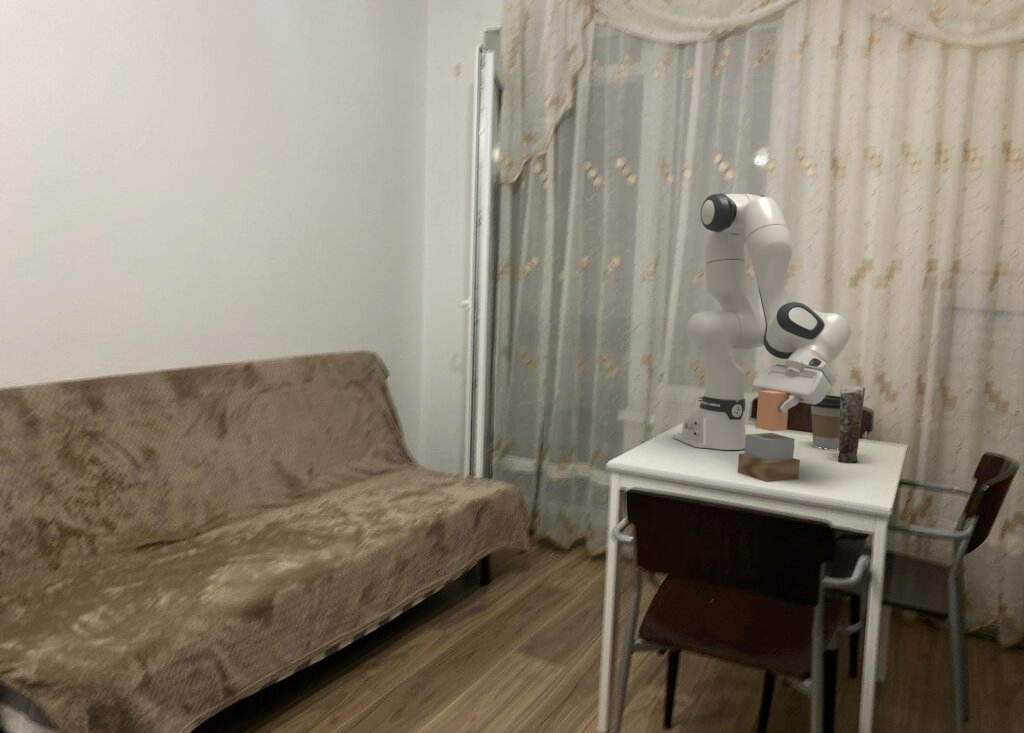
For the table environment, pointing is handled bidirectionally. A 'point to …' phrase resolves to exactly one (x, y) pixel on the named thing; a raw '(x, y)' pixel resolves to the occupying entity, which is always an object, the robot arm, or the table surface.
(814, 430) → the coffee cup
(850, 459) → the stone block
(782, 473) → the tower base
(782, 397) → the terracotta block
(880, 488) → the table surface
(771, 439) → the tower top
